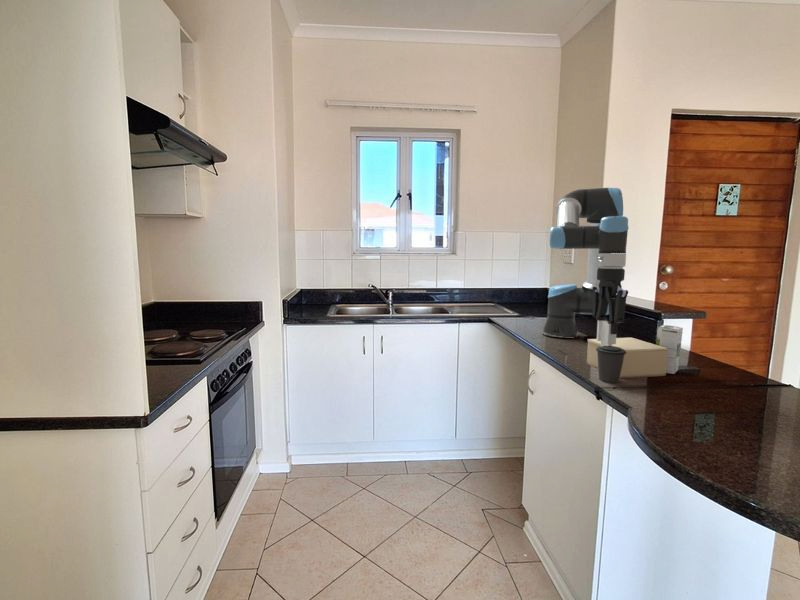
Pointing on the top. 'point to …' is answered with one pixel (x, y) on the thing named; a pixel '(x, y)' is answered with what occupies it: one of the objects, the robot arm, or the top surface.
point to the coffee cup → (610, 363)
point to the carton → (635, 362)
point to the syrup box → (670, 345)
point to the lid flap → (626, 342)
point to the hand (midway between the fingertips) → (605, 342)
